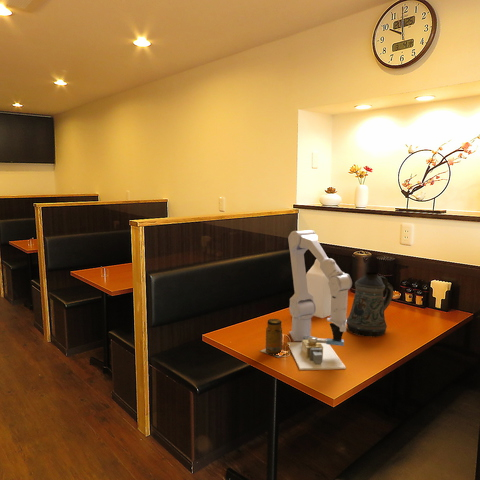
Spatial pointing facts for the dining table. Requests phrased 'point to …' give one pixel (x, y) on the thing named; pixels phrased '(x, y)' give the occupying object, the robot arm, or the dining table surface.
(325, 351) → the board
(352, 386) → the dining table surface
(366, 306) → the beer stein
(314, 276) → the milk
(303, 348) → the valve
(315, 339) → the lever
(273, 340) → the condiment
